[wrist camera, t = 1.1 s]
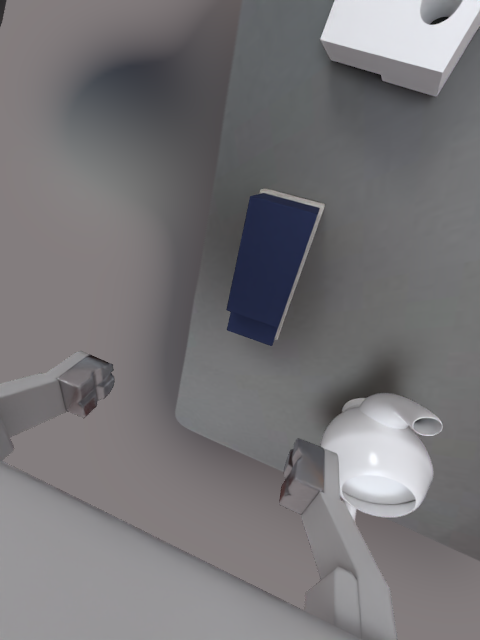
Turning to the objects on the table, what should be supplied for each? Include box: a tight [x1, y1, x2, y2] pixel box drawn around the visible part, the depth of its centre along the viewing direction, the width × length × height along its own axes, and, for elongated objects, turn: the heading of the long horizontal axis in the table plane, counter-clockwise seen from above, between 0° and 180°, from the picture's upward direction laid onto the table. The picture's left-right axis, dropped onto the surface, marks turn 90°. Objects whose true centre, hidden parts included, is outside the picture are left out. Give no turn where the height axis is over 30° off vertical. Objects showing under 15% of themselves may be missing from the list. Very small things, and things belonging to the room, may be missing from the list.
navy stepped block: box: [227, 189, 325, 346], centre depth 23 cm, size 13×5×6 cm, turn 168°
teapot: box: [320, 393, 443, 521], centre depth 26 cm, size 10×20×9 cm, turn 174°
